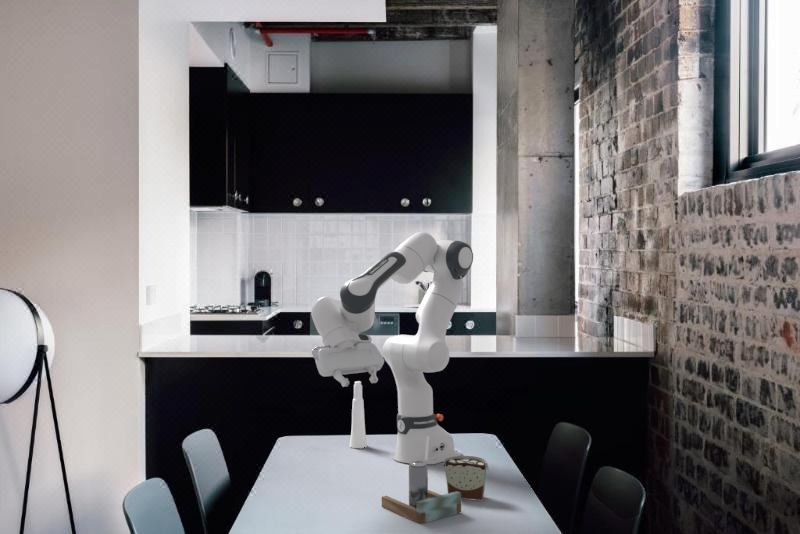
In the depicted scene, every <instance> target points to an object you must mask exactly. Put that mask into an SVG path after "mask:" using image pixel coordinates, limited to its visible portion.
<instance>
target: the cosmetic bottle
mask: <svg viewBox="0 0 800 534" xmlns="http://www.w3.org/2000/svg"><path fill="white" fill-rule="evenodd" d="M351 404H352V409H351V431H350V441H349V446H348V447H349V448H351V447H352V448H351V449H355V448H360V449H365V448H367V447H368V443H367V435H366V434H367V433H366V424H365V421H366V419H365V408H364V407H365V406H364V405H365V404H364V398H363V385H362V381H360V380H357V381H354V384H353V399H352V403H351ZM364 447H365V448H364Z"/></svg>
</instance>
